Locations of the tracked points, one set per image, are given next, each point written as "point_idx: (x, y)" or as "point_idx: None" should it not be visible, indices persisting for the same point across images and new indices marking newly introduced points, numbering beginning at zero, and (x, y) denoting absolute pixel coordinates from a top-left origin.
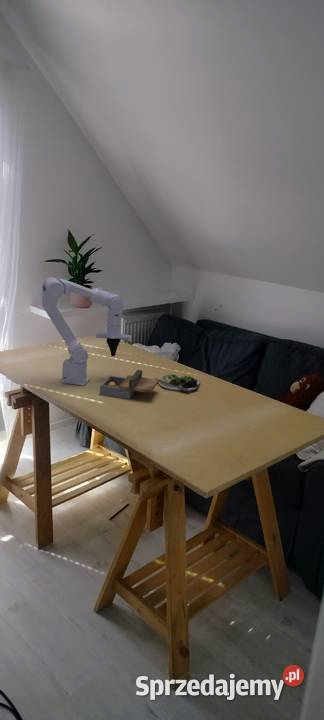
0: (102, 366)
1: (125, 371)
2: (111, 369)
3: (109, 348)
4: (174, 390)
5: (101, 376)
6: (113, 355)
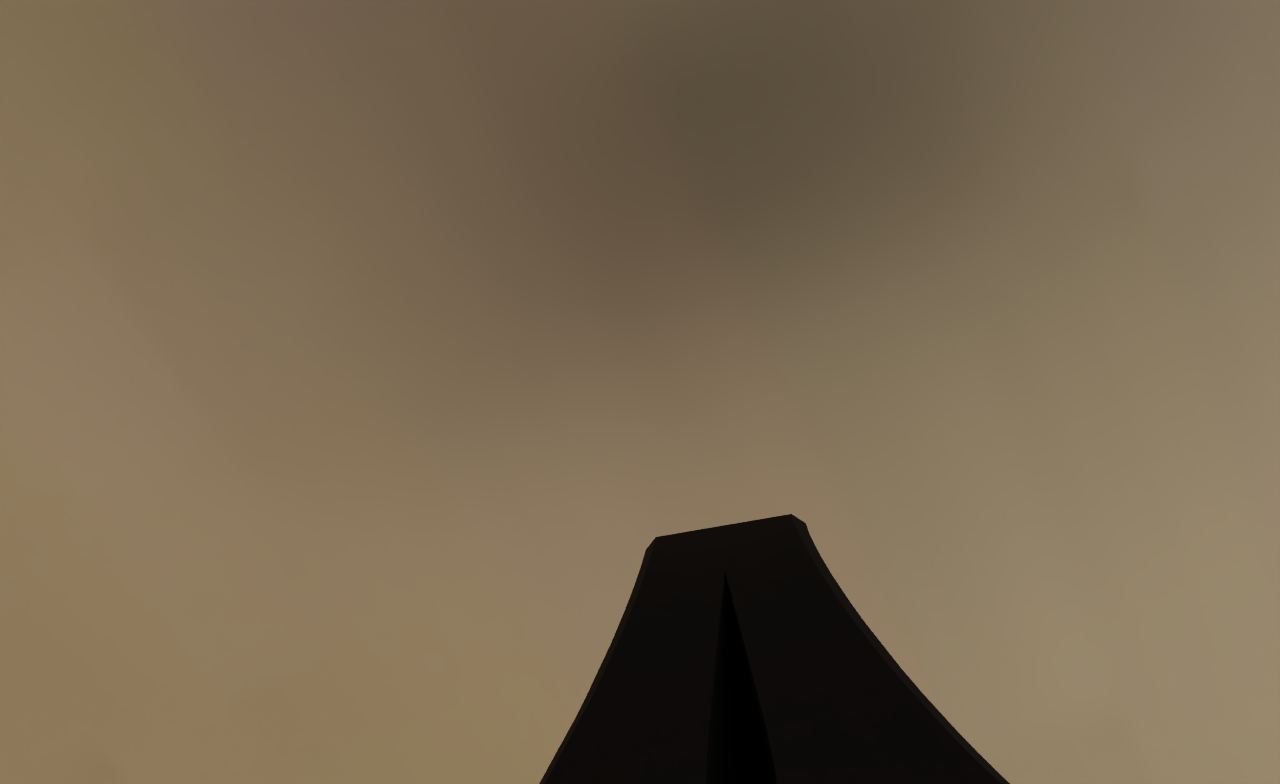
0: (1177, 750)
1: None
2: (949, 698)
3: (979, 757)
4: None
5: (1014, 248)
6: (683, 549)
